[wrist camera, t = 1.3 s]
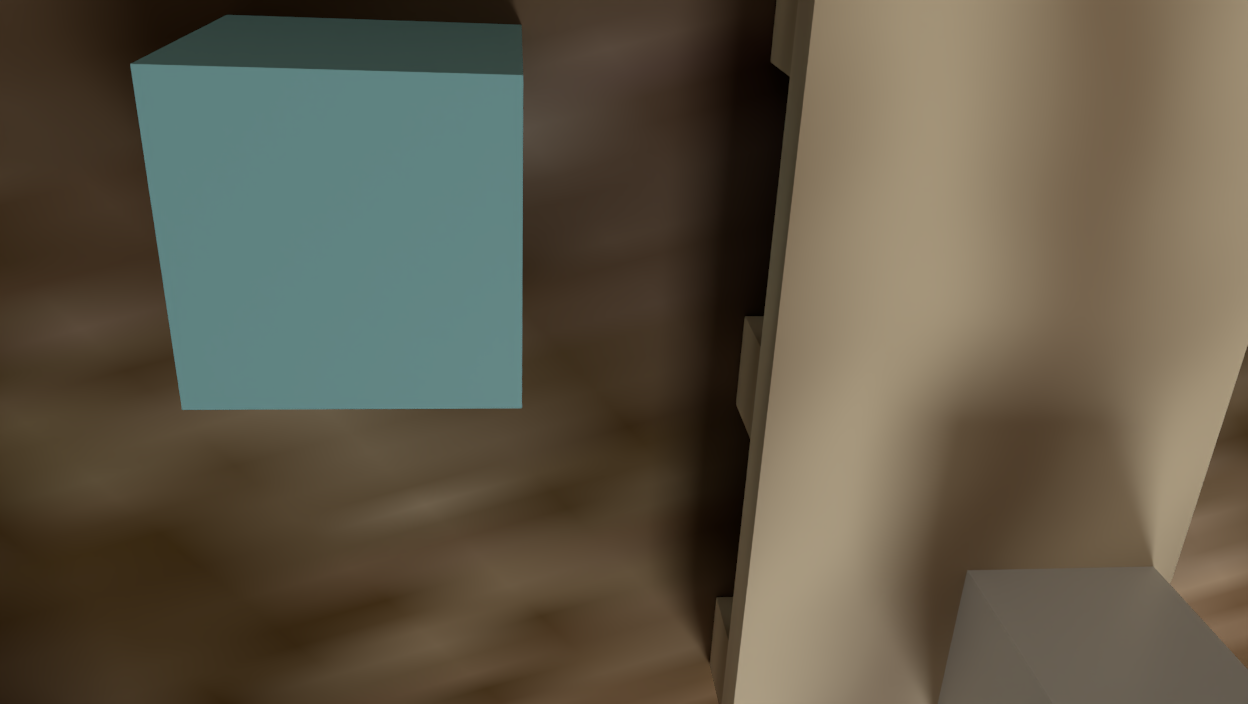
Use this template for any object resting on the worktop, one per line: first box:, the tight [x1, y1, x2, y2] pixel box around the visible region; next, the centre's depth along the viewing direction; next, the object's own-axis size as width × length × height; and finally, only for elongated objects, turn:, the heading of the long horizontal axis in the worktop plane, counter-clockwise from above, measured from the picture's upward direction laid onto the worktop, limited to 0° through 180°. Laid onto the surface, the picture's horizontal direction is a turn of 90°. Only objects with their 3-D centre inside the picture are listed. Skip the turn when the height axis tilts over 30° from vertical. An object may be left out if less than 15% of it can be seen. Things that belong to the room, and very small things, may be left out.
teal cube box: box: [130, 15, 523, 410], centre depth 17 cm, size 5×5×5 cm
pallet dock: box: [710, 0, 1248, 704], centre depth 21 cm, size 9×16×2 cm, turn 177°
